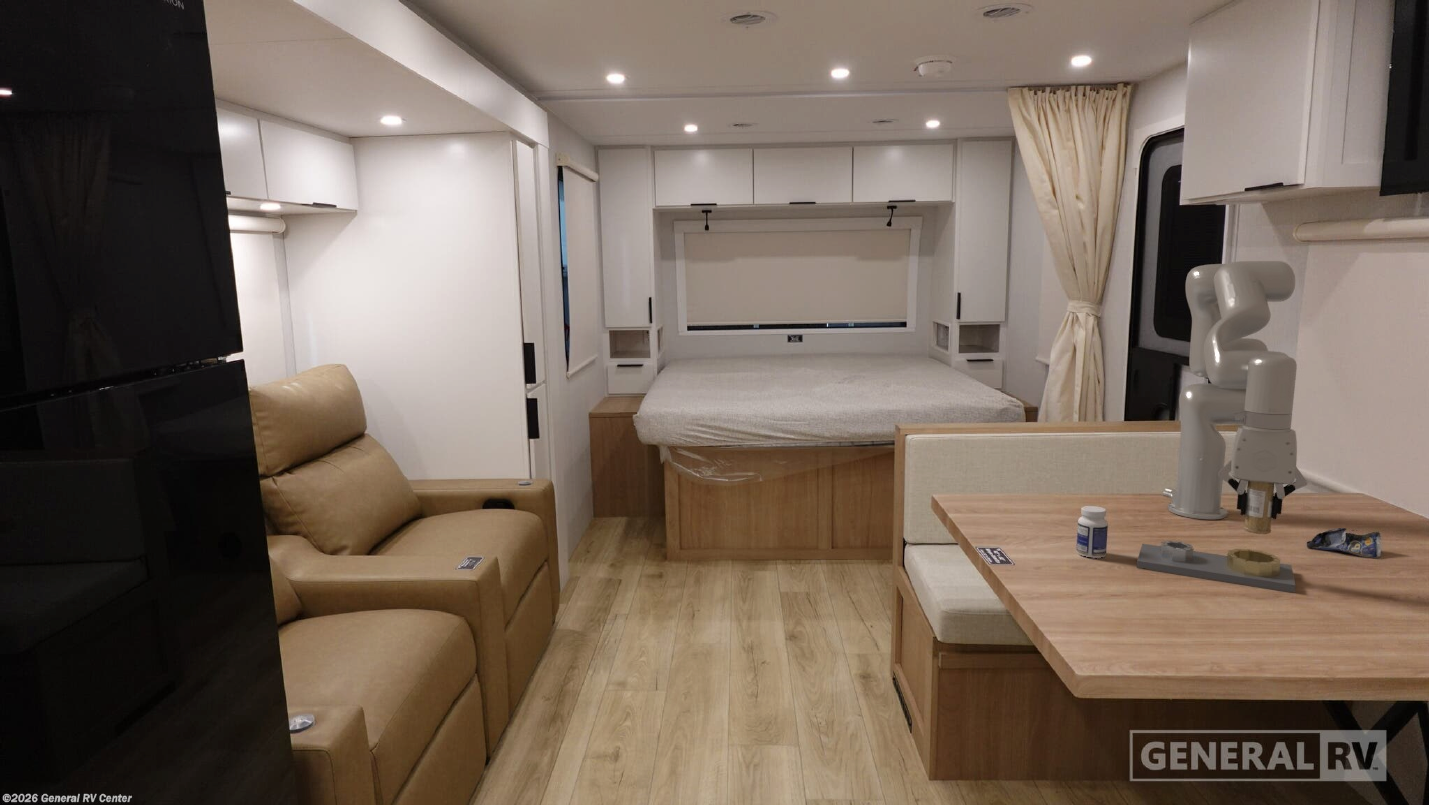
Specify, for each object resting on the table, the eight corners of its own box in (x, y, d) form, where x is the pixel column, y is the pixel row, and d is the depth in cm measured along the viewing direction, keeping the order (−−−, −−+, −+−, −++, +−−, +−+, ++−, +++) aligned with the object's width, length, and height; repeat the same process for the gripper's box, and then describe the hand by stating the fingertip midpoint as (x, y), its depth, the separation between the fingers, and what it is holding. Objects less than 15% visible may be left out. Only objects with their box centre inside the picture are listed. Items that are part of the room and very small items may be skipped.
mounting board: (1136, 567, 166) (1137, 560, 165) (1142, 550, 176) (1142, 543, 175) (1294, 593, 152) (1295, 585, 152) (1290, 572, 162) (1291, 565, 162)
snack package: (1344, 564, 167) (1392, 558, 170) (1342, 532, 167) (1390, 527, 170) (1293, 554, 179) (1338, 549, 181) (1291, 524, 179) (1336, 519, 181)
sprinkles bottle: (1276, 534, 157) (1283, 464, 155) (1255, 535, 156) (1261, 465, 154) (1258, 527, 161) (1264, 459, 159) (1236, 528, 161) (1242, 460, 159)
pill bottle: (1106, 552, 175) (1109, 506, 173) (1106, 560, 170) (1109, 514, 168) (1076, 548, 177) (1079, 503, 176) (1075, 557, 172) (1078, 510, 170)
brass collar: (1216, 565, 162) (1217, 553, 162) (1245, 558, 166) (1246, 546, 165) (1260, 579, 155) (1261, 567, 154) (1289, 572, 158) (1290, 560, 158)
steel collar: (1154, 555, 168) (1155, 543, 168) (1172, 551, 171) (1173, 539, 170) (1179, 563, 163) (1180, 551, 163) (1198, 559, 166) (1199, 547, 165)
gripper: (1214, 420, 157) (1206, 514, 159) (1324, 428, 148) (1313, 527, 151) (1214, 414, 163) (1207, 504, 166) (1320, 422, 154) (1310, 516, 157)
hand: (1258, 514), depth 158 cm, fingers closed on sprinkles bottle, 4 cm apart
